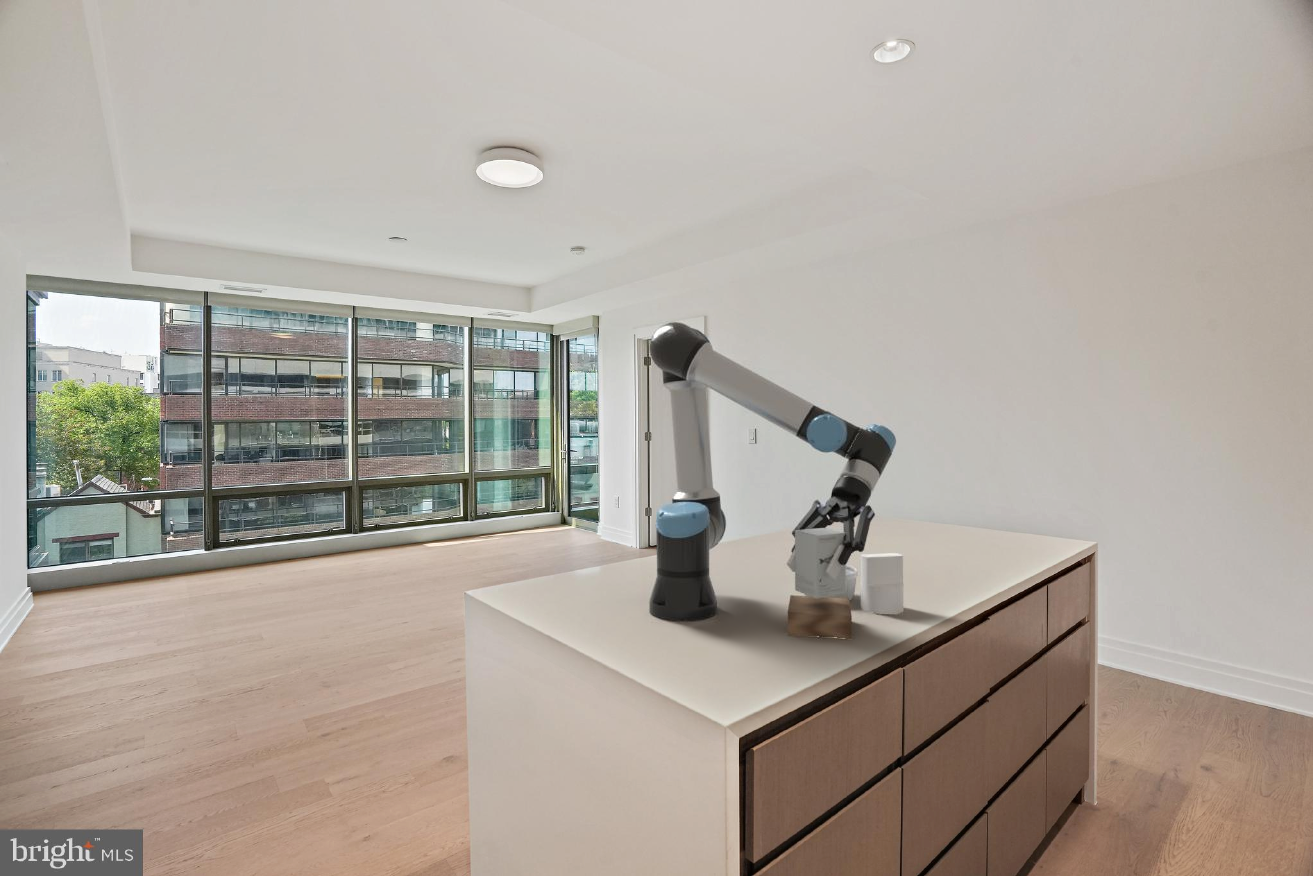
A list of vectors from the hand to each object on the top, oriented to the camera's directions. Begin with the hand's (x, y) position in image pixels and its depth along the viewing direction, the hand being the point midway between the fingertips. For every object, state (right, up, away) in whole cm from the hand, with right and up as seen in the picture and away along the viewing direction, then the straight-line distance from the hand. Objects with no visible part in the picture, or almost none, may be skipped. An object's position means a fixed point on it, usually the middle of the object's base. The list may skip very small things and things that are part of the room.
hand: (810, 571), depth 128 cm
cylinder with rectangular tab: (+20, -12, +15) cm, 27 cm away
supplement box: (+3, -5, +2) cm, 6 cm away
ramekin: (+10, -11, +25) cm, 29 cm away
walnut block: (+2, -12, +2) cm, 13 cm away
